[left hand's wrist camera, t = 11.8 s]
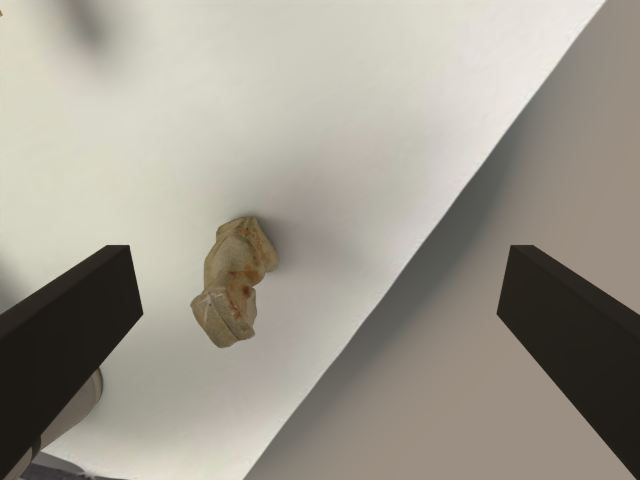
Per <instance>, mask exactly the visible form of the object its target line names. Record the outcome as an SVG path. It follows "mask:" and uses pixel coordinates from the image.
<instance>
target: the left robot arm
mask: <svg viewBox="0 0 640 480" xmlns="http://www.w3.org/2000/svg"><path fill="white" fill-rule="evenodd" d="M142 315H143V309H142V304H141V300H140V295H139V290H138V285H137V280H136V275H135V271H134V266H133V261H132V256H131V251H130V246H129V245H106V246H105V247H103V248H102V249H100V250H99V251H97V252H96V253H94V254H93V255H91V256H90V257H88V258H87V259H85V260H83V261H82V262H80V263H79V264H77V265H76V266H74V267H73V268H71V269H70V270H68V271H67V272H65V273H64V274H62V275H61V276H59V277H58V278H56V279H55V280H53V281H51V282H50V283H48V284H47V285H45V286H44V287H42V288H41V289H39V290H38V291H36V292H35V293H33V294H32V295H30V296H29V297H27V298H26V299H24V300H23V301H21V302H19V303H18V304H16V305H15V306H13V307H12V308H10V309H9V310H7V311H6V312H4V313H3V314H1V315H0V480H17V479H18V478H19V476H20V475H21V474H22V473H23V471H24V470H25V469H26V468H27V466H28V465H29V464H30V463H31V461H32V460H33V459H34V458H35V456H36V455H37V454H38V453H39V452H40V451H41V450H42V449H43V448H44V447H46V446H47V445H49V444H50V443H51V442H53V441H54V440H55V439H57V438H58V437H60V436H61V435H62V434H64V433H65V432H66V431H68V430H69V429H71V428H72V427H73V426H75V425H76V424H77V423H79V422H80V421H81V420H82V419H83V418H84V417H85V416H86V415H87V414H88V413H89V412H90V411H91V409H92V408H93V407H94V405H95V404H96V403H97V401H98V399H99V397H100V395H101V391H102V381H101V376H100V373H99V370H98V367H99V366H100V365H101V364H102V362H103V361H104V360H105V359H106V358H107V357H108V355H109V354H110V353H111V352H112V351H113V349H114V348H115V347H116V346H117V345H118V344H119V342H120V341H121V340H122V339H123V338H124V336H125V335H126V334H127V333H128V332H129V331H130V329H131V328H132V327H133V326H134V325H135V323H136V322H137V321H138V320H139V319H140V318H141V316H142ZM497 315H498V316H499V318H500V319H501V320H502V321H503V322H504V323H505V325H506V326H507V327H508V328H509V329H510V331H511V332H512V333H513V334H514V335H515V336H516V338H517V339H518V340H519V341H520V342H521V344H522V345H523V346H524V347H525V348H526V349H527V351H528V352H529V353H530V354H531V355H532V356H533V358H534V359H535V360H536V361H537V362H538V364H539V365H540V366H541V367H542V368H543V370H544V371H545V372H546V373H547V374H548V375H549V377H550V378H551V379H552V380H553V381H554V382H555V384H556V385H557V386H558V387H559V388H560V390H561V391H562V392H563V393H564V394H565V396H566V397H567V398H568V399H569V400H570V401H571V403H572V404H573V405H574V406H575V407H576V409H577V410H578V411H579V412H580V413H581V415H582V416H583V417H584V418H585V419H586V420H587V422H588V423H589V424H590V425H591V426H592V428H593V429H594V430H595V431H596V432H597V433H598V435H599V436H600V437H601V438H602V439H603V440H604V442H605V443H606V444H607V445H608V446H609V448H610V449H611V450H612V451H613V452H614V454H615V455H616V456H617V457H618V458H619V459H620V461H621V462H622V463H623V464H624V465H625V466H626V468H627V469H628V470H629V471H630V472H631V474H632V475H633V476H634V477H635V478H636V480H640V315H639V314H637V313H636V312H634V311H633V310H631V309H630V308H628V307H627V306H625V305H624V304H622V303H621V302H619V301H617V300H616V299H614V298H613V297H611V296H610V295H608V294H607V293H605V292H604V291H602V290H601V289H599V288H598V287H596V286H595V285H593V284H592V283H590V282H589V281H587V280H585V279H584V278H582V277H581V276H579V275H578V274H576V273H575V272H573V271H572V270H570V269H569V268H567V267H566V266H564V265H563V264H561V263H560V262H558V261H557V260H555V259H553V258H552V257H550V256H549V255H547V254H546V253H544V252H543V251H541V250H540V249H538V248H537V247H535V246H534V245H511V247H510V251H509V256H508V261H507V266H506V271H505V276H504V280H503V285H502V290H501V295H500V300H499V304H498V310H497Z"/></svg>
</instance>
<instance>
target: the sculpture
mask: <svg viewBox="0 0 640 480" xmlns="http://www.w3.org/2000/svg"><path fill="white" fill-rule="evenodd" d="M277 266H278V256H277V253H276V251H275V249H274V247H273V246H272V244H271V243H270V241H269V240H268V238H267V237H266V236H265V234H264V233H263V232H262V230H261V229H260V227H259V225H258V222H257V220H256V219H255V218H254V217H252V216H251V217H247V218H246V217H242V218H238V219H235V220H233V221H230V222H228V223H226V224H224V225H222V226H220V227H219V228H218V231H217V232H216V244H215V245H214V246H213V248H212V249H211V251H210V252H209V254H208V255H207V257H206V259H205V262H204V290H203V292H202V294H200V295H199V296H197V297H196V298H195V299H194V300H193V301H192V302H191V304H190V306H191V308H192V310H193V314H194V316H195V318H196V320H197V322H198V323H199V325H200V326H201V327H202V328H203V330H204V331H205V332H206V334H207V335H208V336H209V338H210V339H211V341H212V342H213V343H214V344H215V345H216V346H217V347H219V348H225V347H229V346H231V345H233V344H234V343H235V342H237V341H241V340H246V339H249V338H251V337H253V336H254V335H255V332H254V330H253V328H252V326H253V323H254V319H255V317H256V315H257V309H256V303H255V299H256V291H255V289H254V288H252V287H253V286H254V285H256V284H258V283H259V282H260V281H261V280H262V279H263V278H264V275H265V273H266V272H271V271H273V270H275V269H276V267H277Z"/></svg>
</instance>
